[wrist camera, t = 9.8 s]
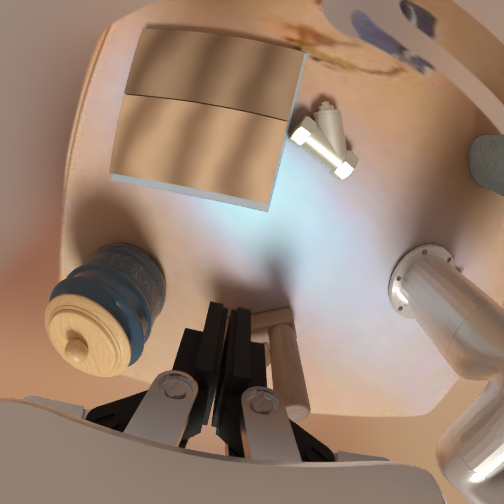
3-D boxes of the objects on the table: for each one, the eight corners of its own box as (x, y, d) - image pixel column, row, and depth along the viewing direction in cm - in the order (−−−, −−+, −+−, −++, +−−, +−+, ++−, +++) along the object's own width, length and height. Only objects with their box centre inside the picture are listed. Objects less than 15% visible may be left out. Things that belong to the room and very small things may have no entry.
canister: (88, 233, 38) (12, 290, 22) (171, 249, 39) (123, 323, 23) (91, 309, 43) (38, 381, 26) (165, 327, 44) (133, 414, 27)
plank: (286, 123, 33) (287, 121, 32) (266, 201, 36) (267, 204, 35) (128, 96, 31) (124, 94, 30) (114, 171, 35) (109, 173, 33)
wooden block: (218, 318, 43) (203, 414, 26) (290, 305, 43) (311, 400, 26) (224, 338, 45) (214, 433, 28) (294, 326, 44) (313, 420, 27)
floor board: (302, 55, 30) (304, 52, 28) (286, 121, 33) (288, 120, 32) (146, 32, 28) (142, 28, 27) (129, 95, 31) (124, 93, 30)
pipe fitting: (316, 99, 33) (285, 139, 34) (325, 92, 29) (291, 137, 31) (364, 138, 35) (335, 178, 36) (377, 137, 31) (346, 180, 32)
